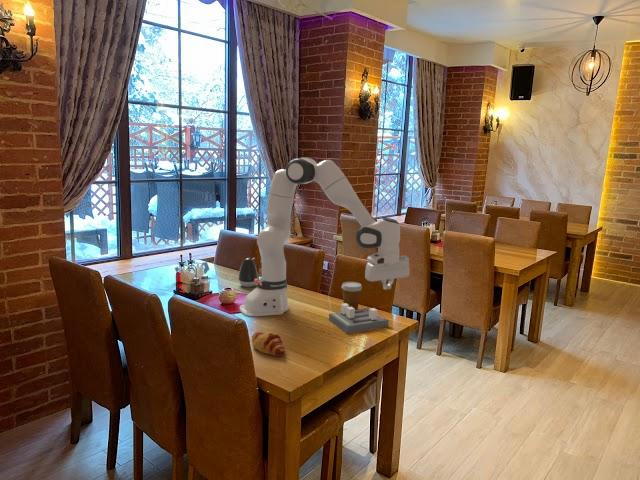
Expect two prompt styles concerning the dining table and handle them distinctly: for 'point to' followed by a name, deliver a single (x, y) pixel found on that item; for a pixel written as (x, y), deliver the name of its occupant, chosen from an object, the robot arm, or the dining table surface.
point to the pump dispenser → (248, 273)
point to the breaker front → (373, 313)
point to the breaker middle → (350, 312)
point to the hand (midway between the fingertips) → (387, 289)
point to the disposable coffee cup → (351, 293)
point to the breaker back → (344, 308)
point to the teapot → (196, 263)
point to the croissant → (268, 343)
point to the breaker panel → (357, 321)
